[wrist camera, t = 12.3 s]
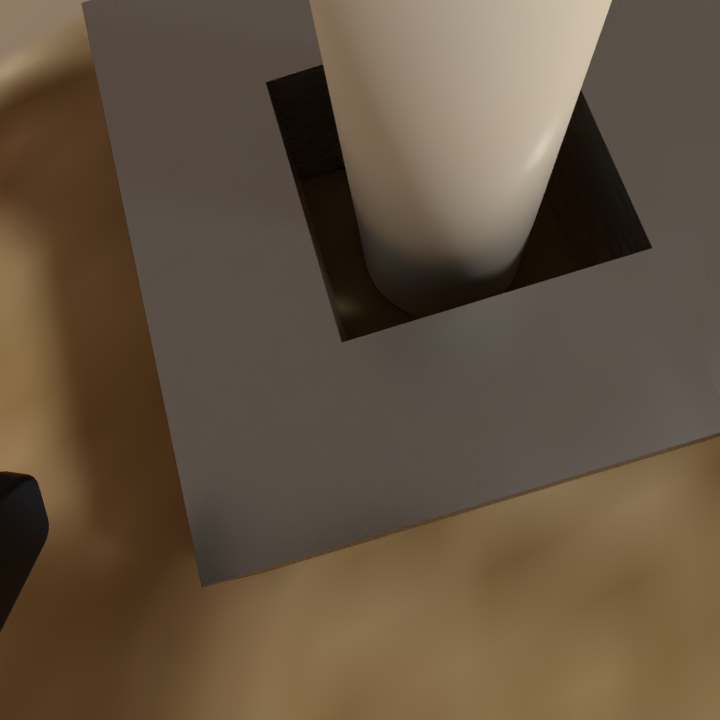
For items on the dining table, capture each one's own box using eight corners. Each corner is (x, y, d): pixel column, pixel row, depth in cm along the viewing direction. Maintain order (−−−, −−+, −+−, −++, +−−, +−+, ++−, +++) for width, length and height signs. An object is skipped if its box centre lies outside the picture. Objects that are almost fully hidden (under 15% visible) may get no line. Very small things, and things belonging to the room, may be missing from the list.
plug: (554, 237, 17) (944, -658, 4) (449, 351, 16) (534, -275, 4) (435, 147, 18) (461, -795, 5) (332, 253, 17) (83, -510, 5)
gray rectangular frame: (803, 411, 15) (933, 368, 11) (258, 573, 15) (201, 586, 11) (591, -25, 19) (635, -172, 15) (152, 112, 19) (81, 3, 15)
